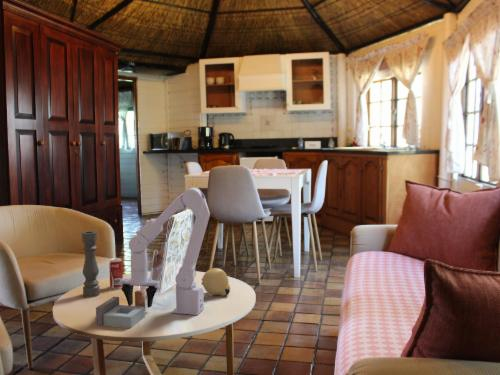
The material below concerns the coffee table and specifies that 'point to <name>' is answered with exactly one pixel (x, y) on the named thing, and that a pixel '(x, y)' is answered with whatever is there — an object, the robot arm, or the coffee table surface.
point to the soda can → (115, 273)
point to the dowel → (140, 298)
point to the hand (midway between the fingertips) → (140, 305)
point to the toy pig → (216, 282)
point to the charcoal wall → (105, 309)
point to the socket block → (124, 316)
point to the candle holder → (90, 265)
